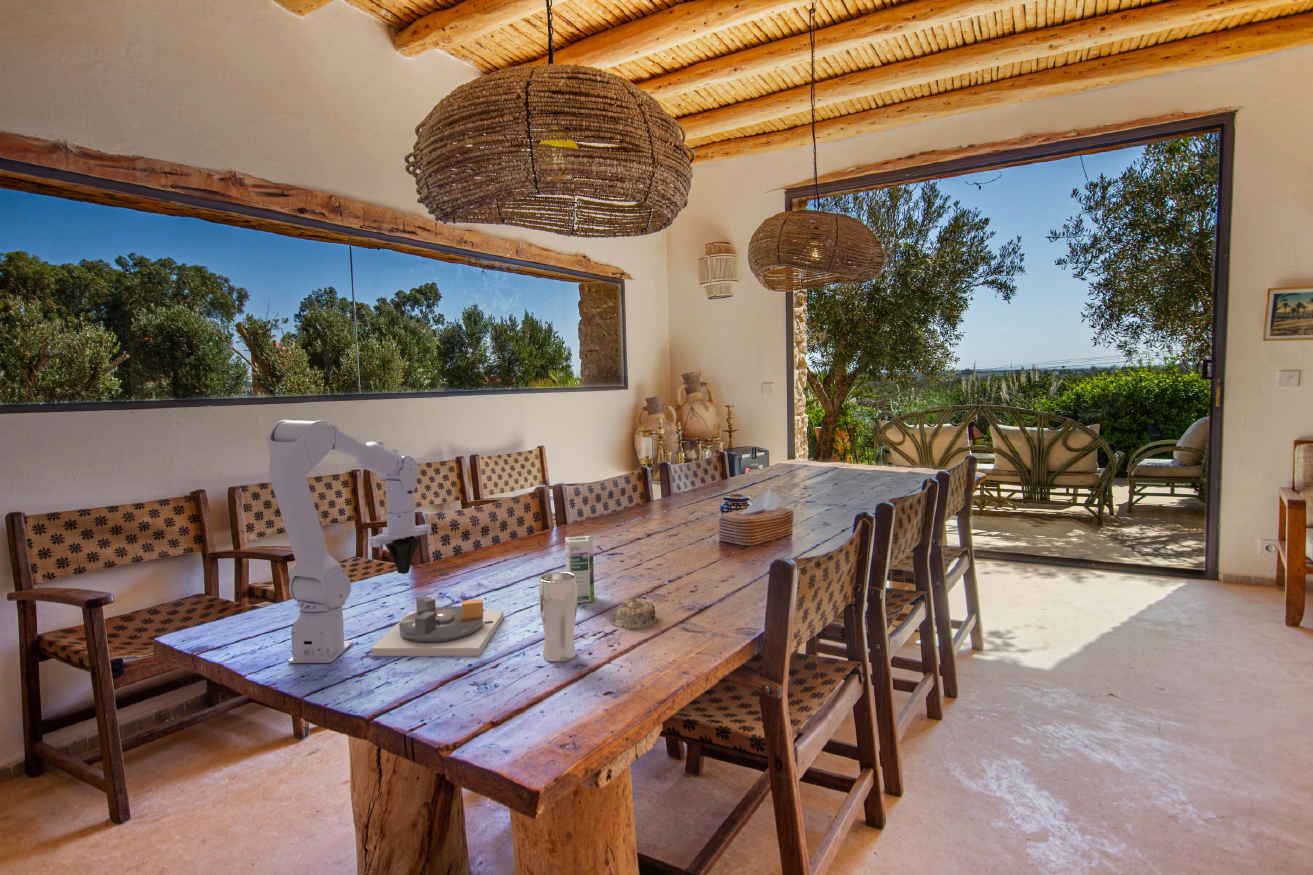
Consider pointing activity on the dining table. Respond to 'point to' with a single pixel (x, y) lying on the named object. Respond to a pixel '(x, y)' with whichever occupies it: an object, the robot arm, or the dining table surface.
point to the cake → (634, 614)
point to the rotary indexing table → (441, 621)
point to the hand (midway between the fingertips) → (403, 572)
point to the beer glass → (558, 615)
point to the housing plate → (461, 647)
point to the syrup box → (581, 565)
